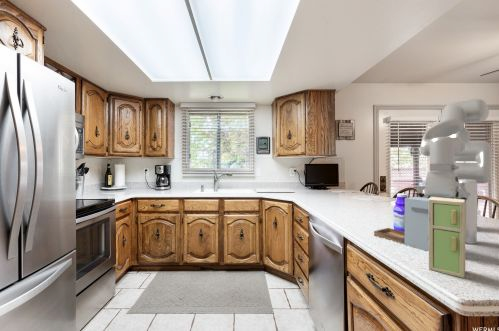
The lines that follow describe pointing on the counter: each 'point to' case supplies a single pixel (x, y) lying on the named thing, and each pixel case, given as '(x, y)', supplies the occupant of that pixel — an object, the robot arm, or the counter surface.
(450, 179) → the robot arm
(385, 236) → the tray
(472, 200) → the grey post
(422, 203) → the unit
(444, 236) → the toy refrigerator
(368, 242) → the counter surface
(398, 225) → the bottle
